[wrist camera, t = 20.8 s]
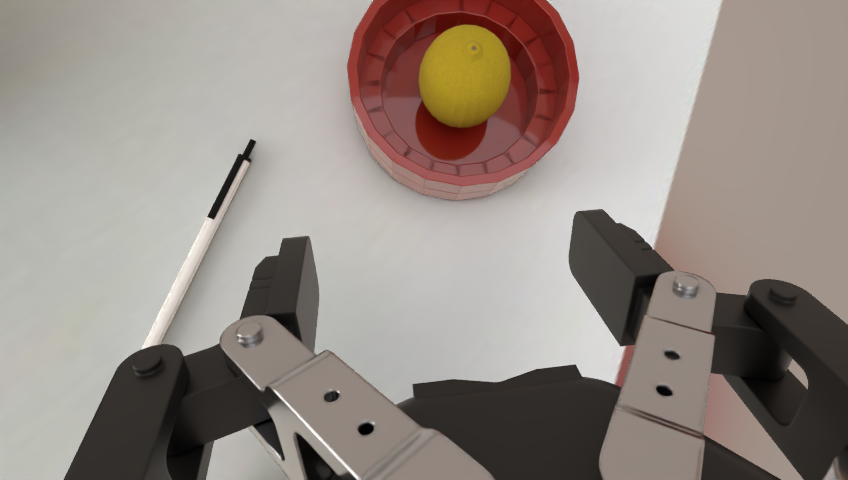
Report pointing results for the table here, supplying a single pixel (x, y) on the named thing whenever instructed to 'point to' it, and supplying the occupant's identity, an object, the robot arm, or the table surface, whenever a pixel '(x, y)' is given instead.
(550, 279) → the table surface
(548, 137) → the bowl
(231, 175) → the pen
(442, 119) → the lemon
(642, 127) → the table surface
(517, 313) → the table surface
